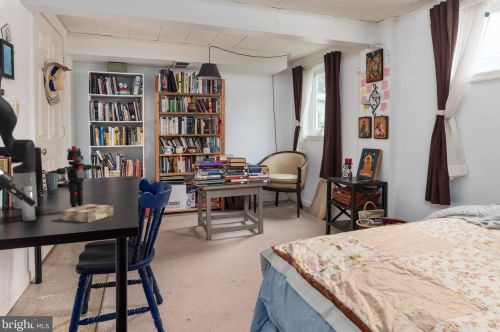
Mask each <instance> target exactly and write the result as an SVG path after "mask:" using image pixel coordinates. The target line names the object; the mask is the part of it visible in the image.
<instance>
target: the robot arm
mask: <svg viewBox="0 0 500 332" xmlns="http://www.w3.org/2000/svg"><path fill="white" fill-rule="evenodd" d="M2 81H3V70H2V69H1V67H0V84H1V83H2ZM17 123H18V117H17V114H16V113H15V110H14V108H13V106H12V105H11V104H10V102H8V101H7V100H6V99H5V98H4V97H3V96H1V95H0V138H1V140H2V143H3V146H4V148H5V150H6V151H5V152H6V153H7V155H8V156H9V157H10V158H11V159H15V160H16V159H17V160H19V159H21V160H22V159H24V161H23V162H22V163H21V164H18V165H15V166H13V167H12V175H11V174H10V173H8V172H7V171H5V170H4V169H3V168H1V167H0V192H1V191H3V190H4V189H5V190H6V192H7V193H8V194H10V195H12V197H13V198H12V200H13V208H15V209H17V210H18V209H19V210H22V201H24V202H26V203H27V204H29V205H30V206H33V205H34V204H35V208H36V207H38V193H37V178H36V177H37V175H36V146H35V145H36V144H35V142H34V141H33V140H32V139H16V138H14V136H13V133H14V130H15V128H16V127H17ZM11 182H12V183H11ZM29 185H32V186H33V188H34V200H32V199H31V198H29V197H28V196H27V195H26V194H24V191H22V190H21V186H29ZM22 194H23V196H22V197H21V195H22Z"/></svg>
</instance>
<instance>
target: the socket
mask: <svg viewBox="0 0 500 332" xmlns="http://www.w3.org/2000/svg"><path fill="white" fill-rule="evenodd" d="M77 206H78V205H77ZM77 206H76V207H73V208H72V207H69V208H66V209H62V210H61V221H68V222H81V223H92V222H95V221H98V220H101V219H105V218H107V216H108V217H111V216H114V205H107V204H105V205H104V204H94V203H93V204H92V203H86V204H82V206H78V207H77ZM104 217H105V218H104Z"/></svg>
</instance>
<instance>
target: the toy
mask: <svg viewBox="0 0 500 332" xmlns="http://www.w3.org/2000/svg"><path fill="white" fill-rule="evenodd" d="M66 151H67V157H66V160H67V161H68V162H67V163H68V165H69V166H65V167H64V166H63V167H58V168H57V169H55V170H51V171H47V172H46V174H56V175H63V174H64V175H67V179H68V183H67V185H68V186H67V187H68V193H69V203H70V208H73V207H78V206H82V205H83V202H84V197H83V195H84V190H83V189H84V188H83V187H84V185H83V183H84V179H85V177H86V176H85V172H86V171H89V170H96V171H101V169H102V166H100V165H92V164H84V162H83V161H84V160H85V158H84V156H83V155H82V153H81V148H80V147H79V148H77V146H75V145H74V146H71V148H68V149H67V150H66Z"/></svg>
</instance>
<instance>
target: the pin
mask: <svg viewBox="0 0 500 332" xmlns="http://www.w3.org/2000/svg"><path fill="white" fill-rule="evenodd" d="M21 190H22V191H24V194H26V195H27V196H28V197H29V198H31V199H32V200H34V188H33V186H32V185H29V186H21ZM22 196H23V194H22V195H21V197H22ZM21 213H22V221H25V222H26V221H27V222H29V220H30V221H34V220H36V207H35V204H34V205H33V206H30V205H29V204H27V203H26V202H24V201H22V209H21Z"/></svg>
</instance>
